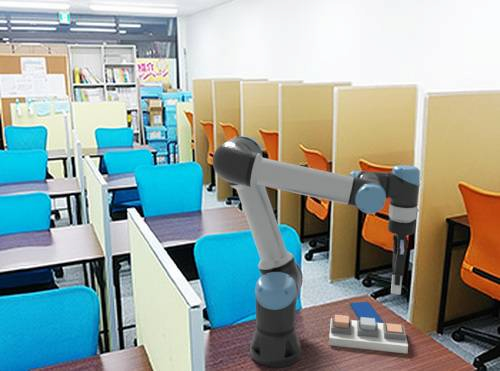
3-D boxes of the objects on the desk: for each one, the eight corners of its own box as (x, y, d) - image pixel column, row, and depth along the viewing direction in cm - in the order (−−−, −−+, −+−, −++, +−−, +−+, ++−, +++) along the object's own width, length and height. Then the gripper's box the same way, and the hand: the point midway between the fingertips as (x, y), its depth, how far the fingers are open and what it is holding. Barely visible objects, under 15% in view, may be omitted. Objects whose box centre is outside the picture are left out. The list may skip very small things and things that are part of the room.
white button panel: (328, 345, 143) (329, 332, 142) (330, 324, 154) (331, 313, 153) (407, 353, 138) (408, 340, 137) (403, 332, 149) (404, 320, 148)
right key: (387, 336, 142) (387, 330, 142) (386, 329, 146) (386, 323, 146) (402, 338, 141) (402, 332, 141) (400, 330, 146) (401, 324, 145)
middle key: (360, 330, 144) (360, 324, 143) (360, 322, 148) (360, 317, 147) (375, 331, 143) (375, 325, 142) (374, 324, 147) (374, 318, 146)
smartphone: (368, 301, 169) (383, 322, 154) (368, 304, 169) (383, 324, 154) (348, 302, 168) (362, 323, 154) (348, 305, 168) (362, 326, 154)
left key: (334, 327, 145) (334, 321, 145) (334, 320, 149) (334, 314, 149) (348, 328, 144) (348, 322, 144) (348, 321, 148) (348, 315, 148)
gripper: (418, 226, 128) (411, 304, 134) (412, 213, 141) (406, 285, 146) (390, 224, 130) (384, 302, 135) (387, 211, 142) (381, 282, 148)
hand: (395, 293), depth 141 cm, fingers closed
